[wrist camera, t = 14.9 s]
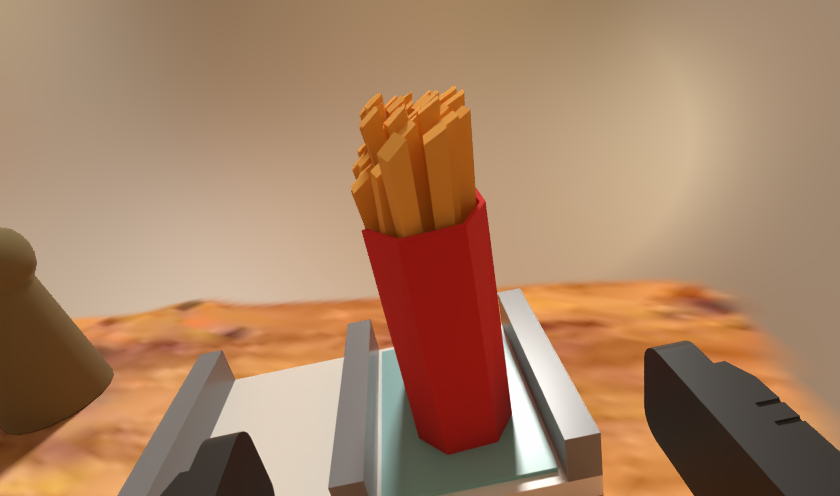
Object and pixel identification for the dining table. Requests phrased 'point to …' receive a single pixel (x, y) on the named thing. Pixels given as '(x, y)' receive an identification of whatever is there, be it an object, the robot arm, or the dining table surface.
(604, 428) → the dining table surface
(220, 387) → the slot rack
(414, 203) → the french fries
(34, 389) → the cork
